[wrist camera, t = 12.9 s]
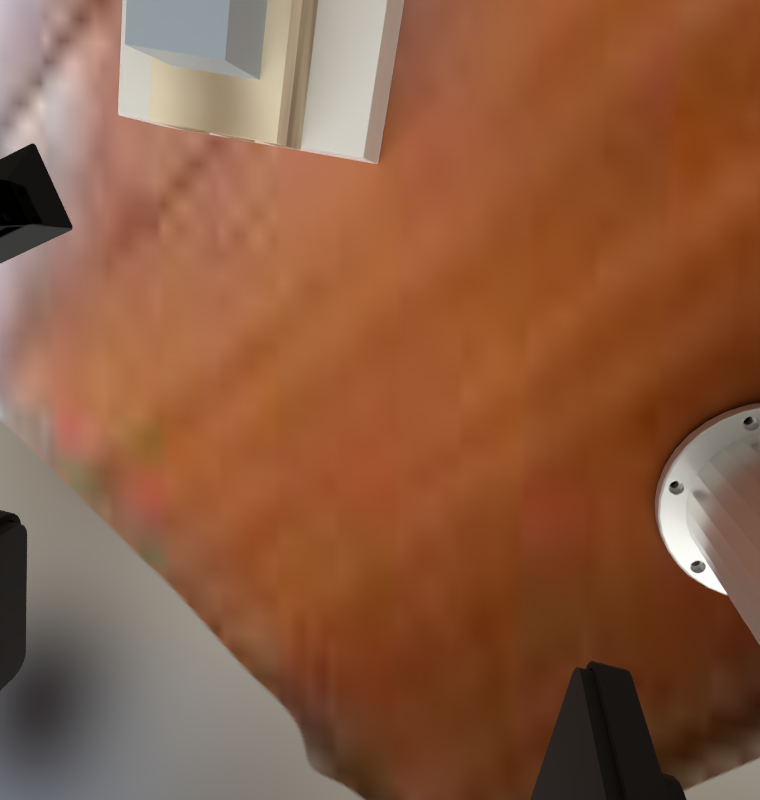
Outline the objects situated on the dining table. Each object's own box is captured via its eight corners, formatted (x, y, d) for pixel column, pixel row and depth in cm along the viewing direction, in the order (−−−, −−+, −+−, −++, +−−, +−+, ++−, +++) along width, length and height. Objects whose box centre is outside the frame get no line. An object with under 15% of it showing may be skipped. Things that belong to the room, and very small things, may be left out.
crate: (269, -25, 27) (235, -64, 23) (259, 80, 28) (225, 60, 24) (178, -39, 27) (129, -78, 23) (172, 66, 28) (124, 44, 24)
